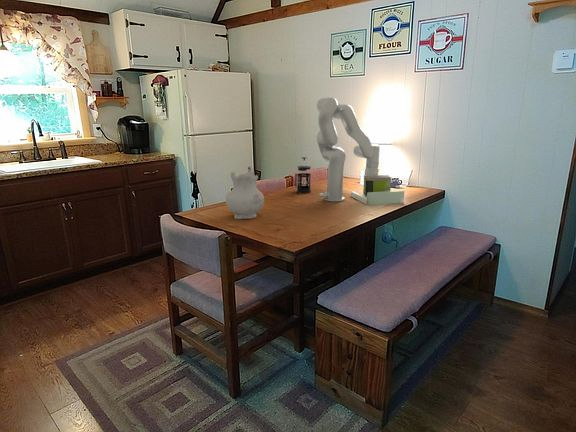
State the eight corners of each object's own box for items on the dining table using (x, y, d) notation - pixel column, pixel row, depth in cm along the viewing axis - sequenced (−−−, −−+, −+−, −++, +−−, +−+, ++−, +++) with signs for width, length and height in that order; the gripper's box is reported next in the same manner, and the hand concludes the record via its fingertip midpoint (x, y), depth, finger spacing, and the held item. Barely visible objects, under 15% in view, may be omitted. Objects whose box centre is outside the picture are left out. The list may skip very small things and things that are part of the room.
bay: (367, 205, 221) (368, 193, 219) (350, 196, 243) (351, 185, 241) (403, 202, 227) (404, 191, 225) (383, 194, 249) (384, 183, 247)
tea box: (387, 198, 238) (388, 174, 234) (389, 201, 229) (391, 177, 225) (362, 197, 240) (364, 174, 236) (364, 201, 230) (365, 177, 226)
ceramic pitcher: (232, 212, 210) (227, 167, 203) (267, 209, 209) (263, 164, 202) (225, 223, 190) (218, 174, 183) (264, 221, 189) (259, 171, 182)
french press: (314, 191, 256) (315, 157, 250) (307, 194, 248) (307, 158, 242) (299, 189, 262) (299, 155, 256) (291, 192, 255) (292, 157, 248)
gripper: (361, 163, 243) (359, 191, 248) (372, 167, 229) (370, 197, 234) (372, 163, 245) (370, 191, 250) (383, 166, 231) (381, 196, 236)
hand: (370, 194), depth 242 cm, fingers closed
